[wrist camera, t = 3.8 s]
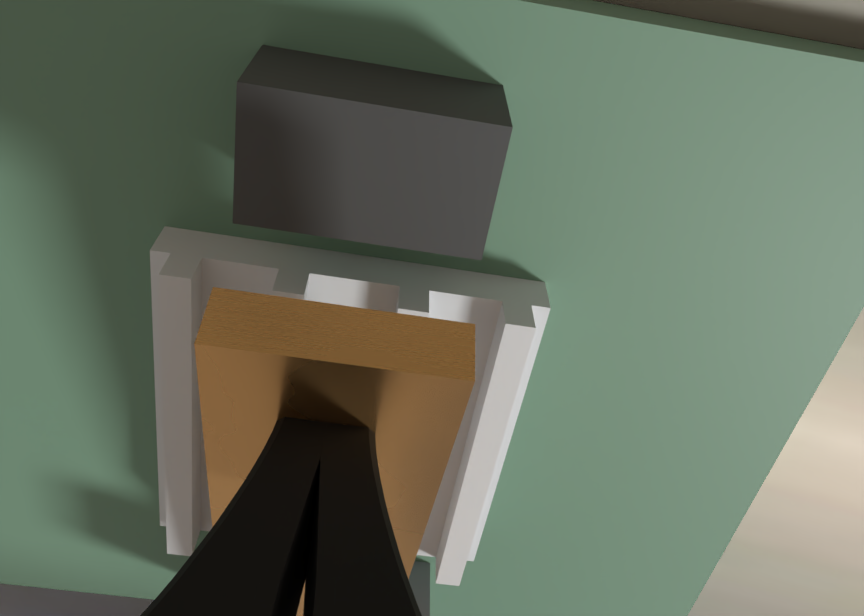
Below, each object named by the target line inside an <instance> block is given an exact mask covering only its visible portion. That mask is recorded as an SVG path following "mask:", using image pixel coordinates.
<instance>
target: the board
mask: <svg viewBox="0 0 864 616" xmlns="http://www.w3.org/2000/svg"><path fill="white" fill-rule="evenodd" d="M213 287H217V288H224V289H231V290H238V291H245V292H252V293H259V294H266V295H273V296H280V297H287V298H294V299H301V300H309V301H316V302H323V303H330V304H337V305H344V306H351V307H358V308H365V309H372V310H379V311H386V312H393V313H400V314H408V315H415V316H422V317H429V318H436V319H443V320H450V321H457V322H464V323H471V324H475V383H474V386H473V389H472V392H471V395H470V398H469V401H468V404H467V407H466V410H465V413H464V416H463V419H462V422H461V425H460V428H459V431H458V433H457V436H456V439H455V442H454V445H453V448H452V451H451V454H450V457H449V460H448V463H447V466H446V469H445V472H444V475H443V478H442V481H441V484H440V487H439V490H438V493H437V496H436V499H435V502H434V505H433V508H432V511H431V514H430V517H429V520H428V523H427V526H426V529H425V532H424V535H423V538H422V541H421V544H420V547H419V550H418V552H417V555H416V558H415V561H414V564H413V567H412V570H411V573H410V576H409V579H408V580H409V583H410V585H411V588H412V591H413V594H414V596H415V599H416V602H417V605H418V607H419V610H420V612H421V615H422V616H687V615H688V614H689V612H690V610H691V608H692V607H693V605H694V603H695V601H696V600H697V598H698V596H699V594H700V593H701V591H702V589H703V587H704V586H705V584H706V582H707V580H708V579H709V577H710V575H711V573H712V572H713V570H714V568H715V566H716V564H717V563H718V561H719V559H720V557H721V556H722V554H723V552H724V550H725V549H726V547H727V545H728V543H729V542H730V540H731V538H732V536H733V535H734V533H735V531H736V529H737V528H738V526H739V524H740V522H741V521H742V519H743V517H744V515H745V514H746V512H747V510H748V508H749V507H750V505H751V503H752V501H753V500H754V498H755V496H756V494H757V493H758V491H759V489H760V487H761V486H762V484H763V482H764V480H765V479H766V477H767V475H768V473H769V472H770V470H771V468H772V466H773V465H774V463H775V461H776V459H777V458H778V456H779V454H780V452H781V451H782V449H783V447H784V445H785V444H786V442H787V440H788V438H789V437H790V435H791V433H792V431H793V430H794V428H795V426H796V424H797V423H798V421H799V419H800V417H801V416H802V414H803V412H804V410H805V409H806V407H807V405H808V403H809V402H810V400H811V398H812V396H813V395H814V393H815V391H816V389H817V388H818V386H819V384H820V382H821V381H822V379H823V377H824V375H825V374H826V372H827V370H828V368H829V367H830V365H831V363H832V361H833V360H834V358H835V356H836V354H837V353H838V351H839V349H840V347H841V346H842V344H843V342H844V340H845V339H846V337H847V335H848V333H849V332H850V330H851V328H852V326H853V325H854V323H855V321H856V319H857V318H858V316H859V314H860V312H861V311H862V309H863V307H864V50H863V49H857V48H852V47H846V46H841V45H835V44H830V43H824V42H819V41H813V40H808V39H802V38H797V37H791V36H786V35H780V34H775V33H769V32H764V31H758V30H753V29H747V28H742V27H736V26H731V25H725V24H720V23H714V22H709V21H703V20H698V19H692V18H687V17H681V16H676V15H670V14H665V13H659V12H654V11H648V10H643V9H637V8H632V7H626V6H621V5H615V4H610V3H604V2H599V1H593V0H0V583H1V584H10V585H20V586H29V587H39V588H48V589H58V590H67V591H77V592H86V593H96V594H105V595H115V596H124V597H134V598H143V599H153V600H155V599H156V598H157V596H158V595H159V594H160V593H161V592H162V590H163V589H164V588H165V587H166V586H167V585H168V583H169V582H170V581H171V580H172V579H173V577H174V576H175V575H176V574H177V572H178V571H179V570H180V569H181V567H182V566H183V565H184V564H185V562H186V561H187V560H188V558H189V557H190V556H191V555H192V553H193V552H194V551H195V549H196V548H197V547H198V546H199V544H200V543H201V542H202V540H203V539H204V538H205V537H206V535H207V534H208V533H209V531H210V530H211V529H212V520H211V509H210V499H209V489H208V479H207V469H206V459H205V448H204V438H203V428H202V418H201V408H200V397H199V387H198V377H197V367H196V357H195V347H194V343H195V340H196V337H197V334H198V331H199V328H200V325H201V322H202V319H203V316H204V312H205V309H206V306H207V303H208V300H209V297H210V294H211V291H212V288H213Z"/></svg>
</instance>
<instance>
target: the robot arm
mask: <svg viewBox="0 0 864 616" xmlns="http://www.w3.org/2000/svg"><path fill="white" fill-rule="evenodd" d="M304 583H305V594H304V610H303V616H422V615H421V612H420V610H419V607H418V605H417V602H416V599H415V596H414V594H413V591H412V588H411V585H410V583H409V580H408V577H407V574H406V571H405V568H404V565H403V562H402V559H401V556H400V552H399V549H398V546H397V542H396V539H395V535H394V532H393V528H392V525H391V521H390V518H389V514H388V510H387V506H386V502H385V498H384V493H383V488H382V484H381V479H380V473H379V467H378V461H377V453H376V441H375V433H374V432H373V431H372V430H371V429H370V428H369V427H361V426H353V425H345V424H336V423H329V422H321V421H313V420H305V419H297V418H289V417H283V418H281V419H279V420H277V421H276V424H275V426H274V428H273V431H272V433H271V435H270V437H269V439H268V441H267V443H266V445H265V447H264V449H263V450H262V452H261V454H260V456H259V457H258V459H257V461H256V463H255V464H254V466H253V468H252V469H251V471H250V472H249V474H248V476H247V477H246V479H245V481H244V482H243V484H242V485H241V487H240V488H239V490H238V491H237V493H236V494H235V496H234V497H233V498H232V500H231V501H230V503H229V504H228V506H227V507H226V509H225V510H224V512H223V513H222V515H221V516H220V517H219V519H218V520H217V522H216V523H215V525H214V526H213V527H212V529H211V530H210V531H209V533H208V534H207V535H206V537H205V538H204V539H203V540H202V542H201V543H200V544H199V546H198V547H197V548H196V549H195V551H194V552H193V553H192V555H191V556H190V557H189V558H188V560H187V561H186V562H185V564H184V565H183V566H182V567H181V569H180V570H179V571H178V572H177V574H176V575H175V576H174V577H173V579H172V580H171V581H170V582H169V583H168V585H167V586H166V587H165V588H164V589H163V590H162V592H161V593H160V594H159V595H158V596H157V598H156V599H155V600H154V601H153V602H152V603H151V604H150V606H149V607H148V608H147V609H146V610H145V611H144V612H143V613H142V614H141V616H296V615H297V611H298V607H299V603H300V599H301V595H302V591H303V587H304Z"/></svg>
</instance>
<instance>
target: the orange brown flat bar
mask: <svg viewBox="0 0 864 616" xmlns="http://www.w3.org/2000/svg"><path fill="white" fill-rule="evenodd" d="M194 347H195V357H196V367H197V377H198V387H199V397H200V408H201V418H202V428H203V438H204V448H205V459H206V469H207V479H208V489H209V499H210V509H211V520H212V527H213V526H214V525H215V523H216V522H217V520H218V519H219V517H220V516H221V515H222V513H223V512H224V510H225V509H226V507H227V506H228V504H229V503H230V501H231V500H232V498H233V497H234V496H235V494H236V493H237V491H238V490H239V488H240V487H241V485H242V484H243V482H244V481H245V479H246V477H247V476H248V474H249V472H250V471H251V469H252V468H253V466H254V464H255V463H256V461H257V459H258V457H259V456H260V454H261V452H262V450H263V449H264V447H265V445H266V443H267V441H268V439H269V437H270V435H271V433H272V431H273V428H274V426H275V424H276V421H277V420H279V419H281V418H283V417H289V418H297V419H305V420H313V421H321V422H329V423H336V424H345V425H353V426H361V427H369V428H370V429H371V430H372V431H373V432H374V433H375V441H376V453H377V461H378V467H379V473H380V479H381V484H382V488H383V493H384V498H385V502H386V506H387V510H388V514H389V518H390V521H391V525H392V528H393V532H394V535H395V539H396V542H397V546H398V549H399V552H400V556H401V559H402V562H403V565H404V568H405V571H406V574H407V577H408V579H409V576H410V573H411V570H412V567H413V564H414V561H415V558H416V555H417V552H418V550H419V547H420V544H421V541H422V538H423V535H424V532H425V529H426V526H427V523H428V520H429V517H430V514H431V511H432V508H433V505H434V502H435V499H436V496H437V493H438V490H439V487H440V484H441V481H442V478H443V475H444V472H445V469H446V466H447V463H448V460H449V457H450V454H451V451H452V448H453V445H454V442H455V439H456V436H457V433H458V431H459V428H460V425H461V422H462V419H463V416H464V413H465V410H466V407H467V404H468V401H469V398H470V395H471V392H472V389H473V386H474V383H475V324H471V323H464V322H457V321H450V320H443V319H436V318H429V317H422V316H415V315H408V314H400V313H393V312H386V311H379V310H372V309H365V308H358V307H351V306H344V305H337V304H330V303H323V302H316V301H309V300H301V299H294V298H287V297H280V296H273V295H266V294H259V293H252V292H245V291H238V290H231V289H224V288H217V287H213V288H212V291H211V294H210V297H209V300H208V303H207V306H206V309H205V312H204V316H203V319H202V322H201V325H200V328H199V331H198V334H197V337H196V340H195V343H194ZM304 594H305V583H304V587H303V591H302V595H301V599H300V603H299V607H298V611H297V615H296V616H303V610H304Z"/></svg>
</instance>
